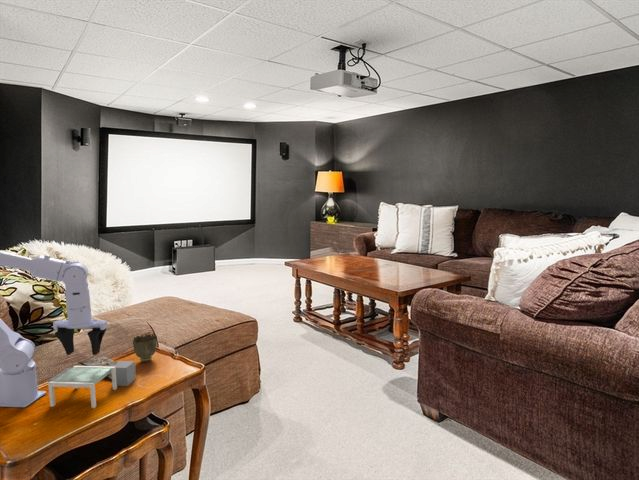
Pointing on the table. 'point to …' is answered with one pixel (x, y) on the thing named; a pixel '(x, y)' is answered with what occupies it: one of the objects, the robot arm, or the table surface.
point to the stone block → (125, 372)
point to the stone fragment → (99, 361)
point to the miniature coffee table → (81, 385)
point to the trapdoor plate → (81, 375)
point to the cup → (145, 347)
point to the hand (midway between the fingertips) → (83, 353)
